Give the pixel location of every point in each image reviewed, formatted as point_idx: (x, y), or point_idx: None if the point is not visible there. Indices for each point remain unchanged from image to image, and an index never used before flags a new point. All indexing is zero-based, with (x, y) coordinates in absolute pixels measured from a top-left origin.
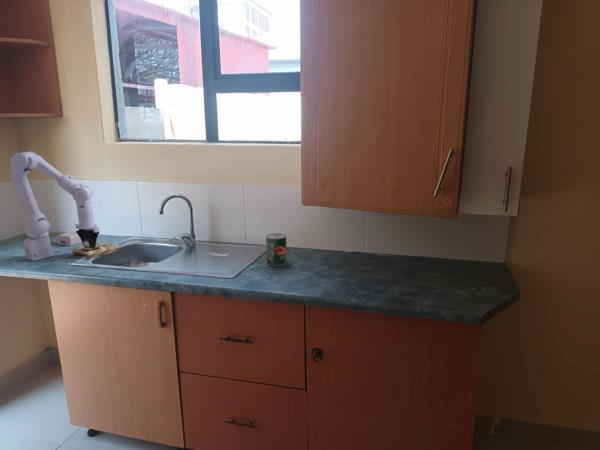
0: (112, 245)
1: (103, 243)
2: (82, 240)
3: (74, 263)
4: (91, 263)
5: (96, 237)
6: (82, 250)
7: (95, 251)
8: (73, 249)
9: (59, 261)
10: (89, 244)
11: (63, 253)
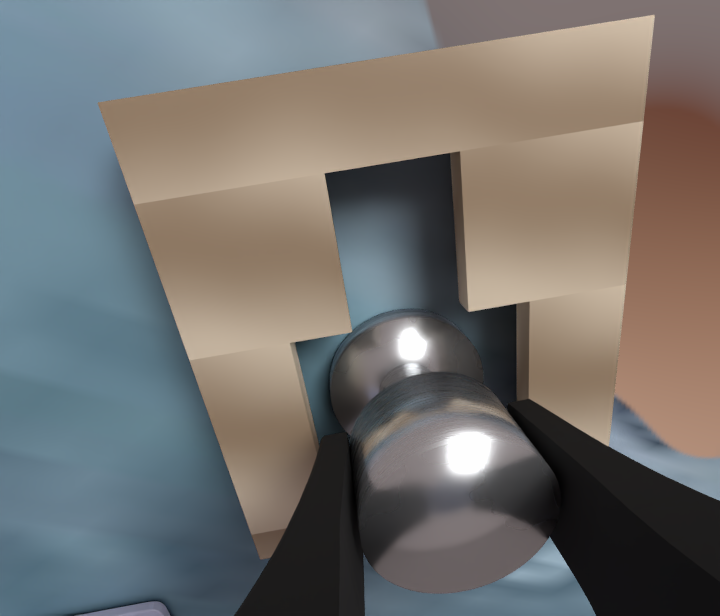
0: (546, 92)
1: (252, 141)
2: (362, 598)
3: (559, 552)
4: (700, 469)
5: (707, 513)
6: None
7: (601, 414)
8: (268, 549)
9: (391, 609)
10: None
11: (126, 543)
